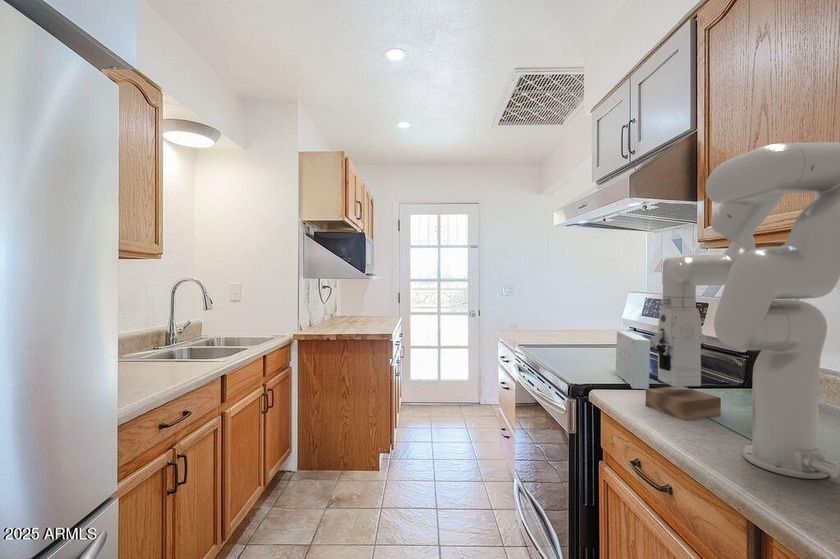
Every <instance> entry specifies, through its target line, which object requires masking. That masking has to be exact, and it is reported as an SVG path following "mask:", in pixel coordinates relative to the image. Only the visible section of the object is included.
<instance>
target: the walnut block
mask: <svg viewBox="0 0 840 559" xmlns="http://www.w3.org/2000/svg"><path fill="white" fill-rule="evenodd" d="M721 400H722V399H721V397H720V396H717V395H713V394H710V393H706V392H703V391H699V390H696V389H693V388H689V387H687V386H677V387H674V386H672V385H671V386H665V387H664V386H663V387H655V388H654V387H653V388H649V389H645V407H648V408H650V409H652V410H655V411H658V412H661V413H663V414H666V415H668V416H671V417H673V418H676V419H678V420H682V421H684V422H686V421H691V420H692V421H693V420H700V419H701V420H702V419H706V417H708V418H712V417H711V416H715V417H720V416H721V414H722V412H721V410H722V405H721V404H722V402H721Z"/></svg>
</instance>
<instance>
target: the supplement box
mask: <svg viewBox="0 0 840 559" xmlns="http://www.w3.org/2000/svg"><path fill="white" fill-rule="evenodd" d="M663 339H664V343H666V340H665V337H663V338H662V341H663ZM659 344H660V343H659ZM665 348H666V346H665ZM665 348H664V349H665ZM701 351H702V349H701V339H700V338H682V339H673V347H672V346H670V352H669V354H668V355H669V356H670V370H669V371H667V370H664V369H660V368H659V354H658V353H657V380H658V381H660V382H662V383H665V384H667V385H670V386H671V387H672V386H674V387H677V386H683V387H701V386H702V358H701V356H702V352H701Z"/></svg>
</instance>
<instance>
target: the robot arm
mask: <svg viewBox="0 0 840 559" xmlns="http://www.w3.org/2000/svg"><path fill="white" fill-rule="evenodd" d="M808 193H811V194H813V193H815V194H818V197H816V199H814V201H812V202H811V203H809V204H808V205H807V206H806V207H805V208H804V209H803V210H802V211H801V212H800V214H798V216H797V217H796V219H795V221H794V223H793V224H792V228H791V230H790V233H789V235H788V237H787V239H786V241H785V243H784V244H782V245H781V246H760V247H756V240H755V238H754V233H755V232H756V231H757V229H758V228H759V227H760V226H761V225H762V224H763V223H764V221H765V220H766V219H767V217H768V216H769V215H770V214H771V212H772V211H774V209H775V207H776V206H778V204H779V203H780V202H781V200H782V198H784V197H785V195H786V194H808ZM705 194H706V196H707V198H708V199H709V200H710V201H712V202H713V203H714V204H715V203H716V204H720V205H719V207H717V209H716V211H715V212H714V213H713V215H712V216H711V218H710V227H711V228H712V230H714V232H716V234H718V235H719V236H721V237H722V238H724V239H725V240H728V241H731V243H730V245H729V246H728V248H727V249H726V250H725V251H724V253H722V254H698V255H697V254H695V255H693V254H691V255H682V256H677V257H668V258H665V259H663V262H662V299H660V301H659V303H660V304H661V305H662V308H660V311H659V317H658V322H657V324H658V325H657V333H655V335H653V336H652V337H651V338H650V339H649V340H650V345H652V347H653V349H654V350H655V351H656V353H657V355H658V354H659V368H660V369H664V370H667V371H669V370H670V356H669V355H668V354H669V352H670V346H672V347H673V339H682V338H700V339H701V350H702V349H704V346H705V344H706V343H707V340H708V337H707V336H705V334H703V329H702V319H701V314H700V311H699V308H696V307H697V301H696V300H697V298H696V297H697V286H698V287H699V286H723V290H722V292H721V295H720V298H719V302H718V305H717V307H716V312H715V314H714V322H713V324H714V325H713V326H714V327H713V328H714V332H715V335H716V338H717V339H718V340H719V342H720V343H721V344H723V345H724V346H726V348H730V349H733V350H738V351H760V352H759V353H758V356H757V357H756V359H755V361H754V364H753V369H752V422H751V423H752V425H751V426H752V428H751V430H752V439H751V440H752V442H751V443H752V444H749V445H745V446H744V447H742V456H743V458H745V459H746V461H748V462H749V463H751V464H753V465H755V466H756V467H759V468H761V469H763V470H766V471H769V472H773V473H775V474H779V475H782V476H787V477H793V478H798V479H807V480H809V479H811V480H817V479H818V480H819V479H820V480H821V479H825V478H827V477H830V478H834V479H835V478H837V477H839V475H840V463H838V462H836V461H833V460H829V459H827V457H826V449H824V448H821V447H819V432H820V431H819V429H820V428H819V422H820V421H819V416H820V415H819V414H820V411H819V409H820V408H819V407H820V406H819V404H820V403H819V402H820V400H819V399H820V398H819V392H820V391H819V390H820V365H821V357H822V354H823V348H824V345H825V342H826V339H827V333H828V325H827V320H826V317H825V316H824V314H823V312H822V311H821V310H820V309H819V308H817V307H816V306H815V305H814V304H811V303H809V302H806V301H803V299H804V300H805V299H818V298H822V297H825V296H827V295H828V294H830V293H831V292H833V290H834V288H835V287H836V285H837V284H838V282H839V281H840V142H835V141H834V142H833V141H831V142H829V141H827V142H824V141H823V142H780V143H772V144H767V145H764V146H761V147H759V148H756V149H753V150H750V151H749V152H746V153H742V154H740V155H738V156H735V157H732V158H730V159H728V160H726V161H723V162H721V163H720V164H719V165H717V166H716V167H715V168H714V169H713V170H712V172H710V174H709V175H708V178H707V179H706V184H705ZM663 337H665V340H666V343H664V339H663V341H662V338H663ZM659 343H660V344H659ZM665 346H666V348H665ZM664 348H665V349H664Z"/></svg>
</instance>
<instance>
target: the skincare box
mask: <svg viewBox="0 0 840 559" xmlns="http://www.w3.org/2000/svg"><path fill="white" fill-rule="evenodd" d="M650 359H651V342H650V339H648V338H646V337H643V336H642V335H639V334H637V333H634V332H633V331H625V330H617V331H616V349H615V371H614V372H615V375H616V376H618V377H619V376H620V377H621V378H622V379H624V380H625V381H626V382H628V383H629V384H630V386H631V387H630V386H629V387H630V388H632V389H635V390H639V389H640V390H646V389H650V363H651V362H650V361H651V360H650ZM620 377H619V378H620ZM621 378H620V379H621ZM622 379H621V380H622ZM624 380H623V381H624ZM625 381H624V382H625ZM626 382H625V383H626Z"/></svg>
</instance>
